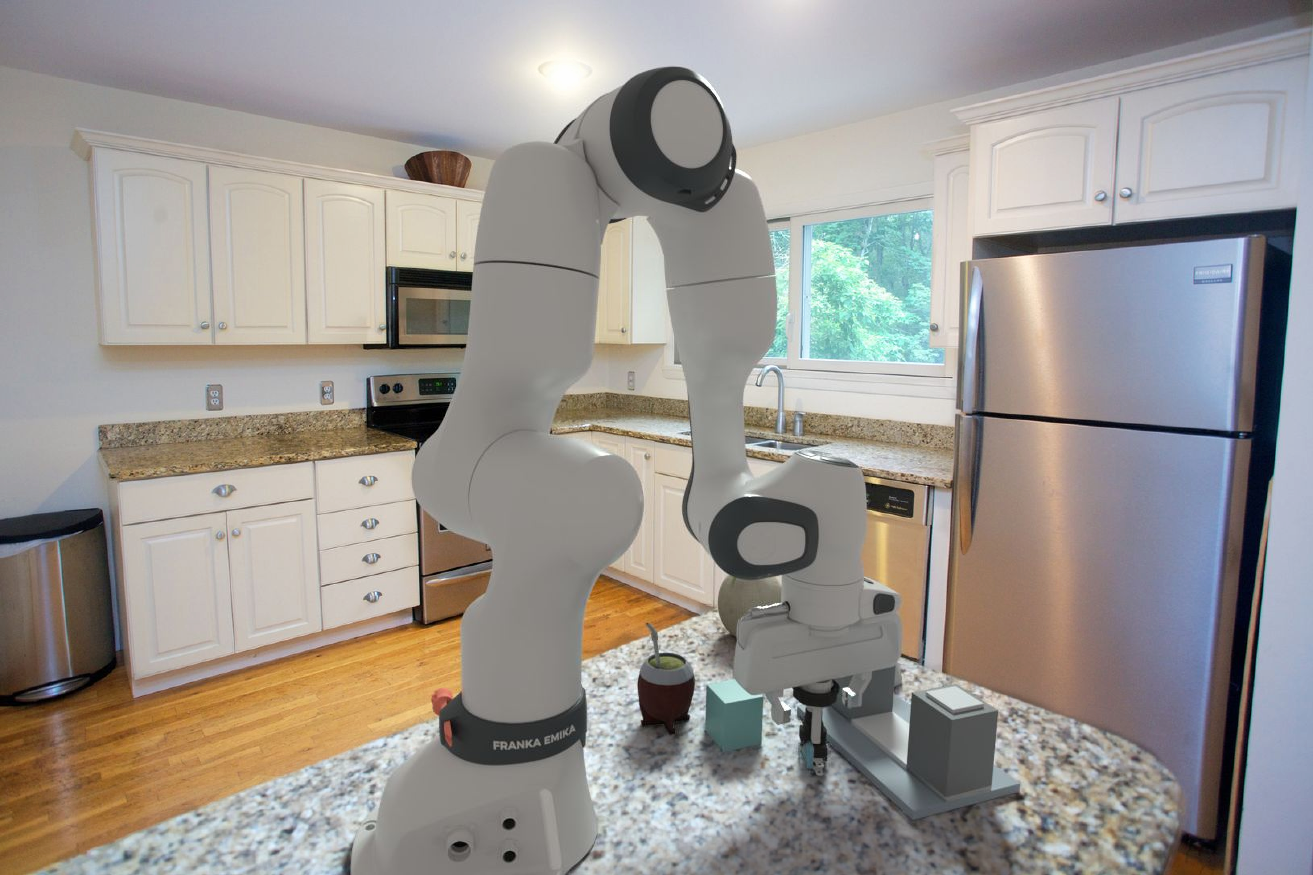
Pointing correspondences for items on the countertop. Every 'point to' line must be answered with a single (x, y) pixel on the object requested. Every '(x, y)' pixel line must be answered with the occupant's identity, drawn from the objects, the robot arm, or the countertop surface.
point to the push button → (815, 721)
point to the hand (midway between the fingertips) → (816, 713)
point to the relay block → (733, 715)
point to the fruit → (745, 598)
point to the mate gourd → (665, 688)
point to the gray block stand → (920, 745)
